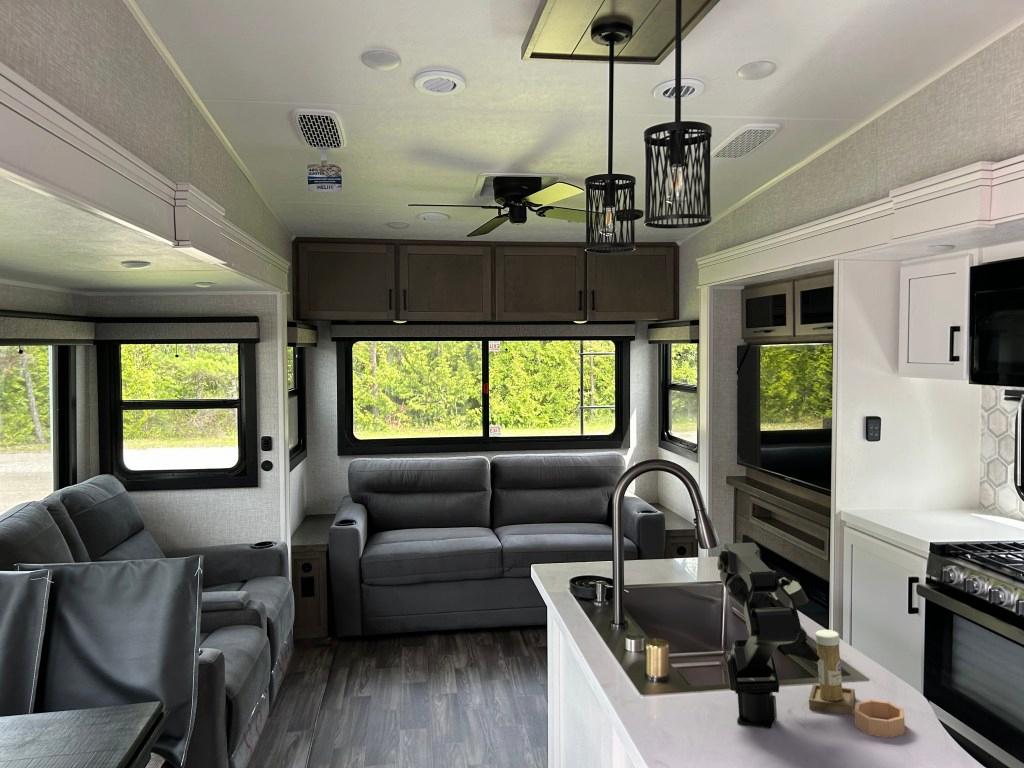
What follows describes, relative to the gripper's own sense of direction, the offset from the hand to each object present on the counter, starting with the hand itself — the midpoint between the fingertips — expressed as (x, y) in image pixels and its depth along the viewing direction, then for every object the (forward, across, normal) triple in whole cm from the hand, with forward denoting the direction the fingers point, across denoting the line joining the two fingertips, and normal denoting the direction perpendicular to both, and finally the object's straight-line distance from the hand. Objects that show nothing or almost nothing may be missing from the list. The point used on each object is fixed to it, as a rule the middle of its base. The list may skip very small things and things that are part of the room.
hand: (811, 650), depth 153 cm
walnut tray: (+11, 0, +5) cm, 12 cm away
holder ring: (+14, -10, +1) cm, 17 cm away
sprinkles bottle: (+10, 0, +5) cm, 11 cm away
